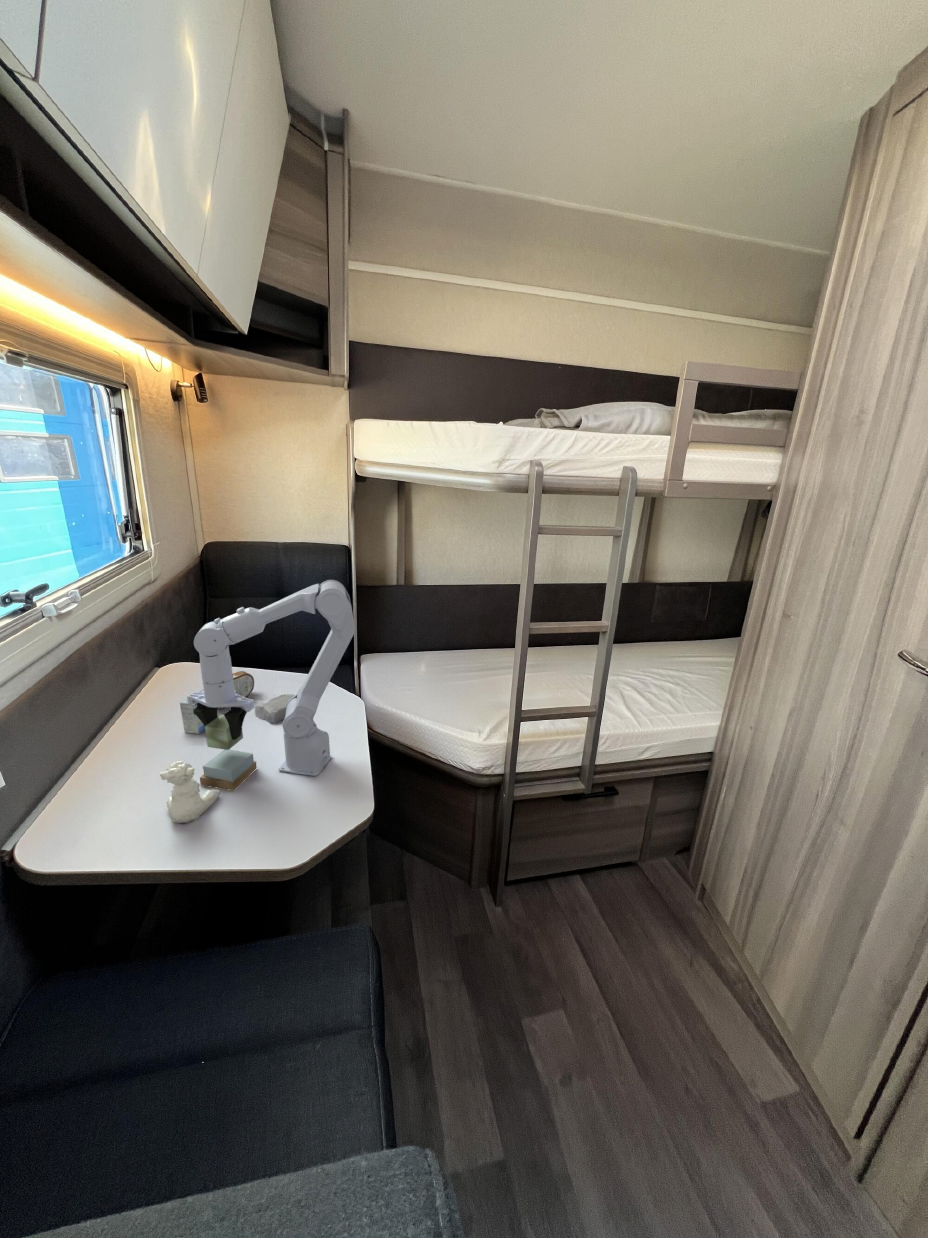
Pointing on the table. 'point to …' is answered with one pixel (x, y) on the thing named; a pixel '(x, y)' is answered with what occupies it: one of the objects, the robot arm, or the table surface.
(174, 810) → the seated beast figurine
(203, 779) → the walnut slab
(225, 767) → the slate blue slab
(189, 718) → the medicine box
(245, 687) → the tin
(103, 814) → the table surface
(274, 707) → the stone block
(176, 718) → the table surface
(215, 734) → the green cube
